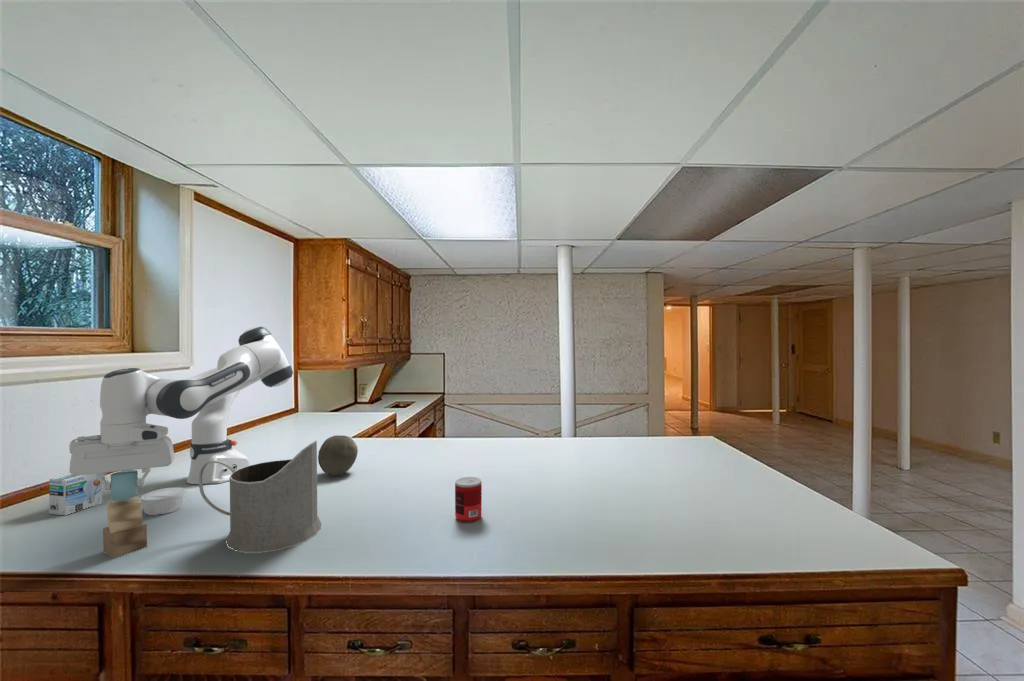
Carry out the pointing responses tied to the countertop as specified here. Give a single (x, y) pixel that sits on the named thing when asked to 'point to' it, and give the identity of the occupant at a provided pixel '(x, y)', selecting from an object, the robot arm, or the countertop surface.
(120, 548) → the walnut block
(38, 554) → the countertop surface
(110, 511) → the oak block
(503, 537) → the countertop surface
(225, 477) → the robot arm
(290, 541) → the pitcher
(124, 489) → the teal tapered block
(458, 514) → the canned food
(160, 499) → the ramekin
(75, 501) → the light bulb box
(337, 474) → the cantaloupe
